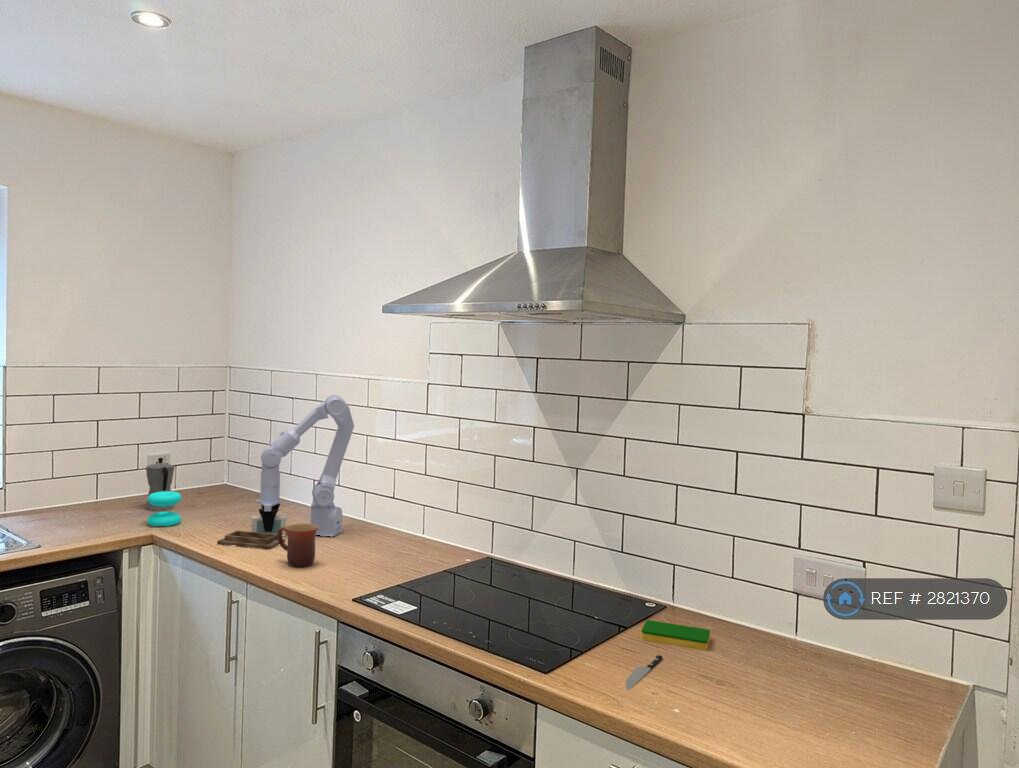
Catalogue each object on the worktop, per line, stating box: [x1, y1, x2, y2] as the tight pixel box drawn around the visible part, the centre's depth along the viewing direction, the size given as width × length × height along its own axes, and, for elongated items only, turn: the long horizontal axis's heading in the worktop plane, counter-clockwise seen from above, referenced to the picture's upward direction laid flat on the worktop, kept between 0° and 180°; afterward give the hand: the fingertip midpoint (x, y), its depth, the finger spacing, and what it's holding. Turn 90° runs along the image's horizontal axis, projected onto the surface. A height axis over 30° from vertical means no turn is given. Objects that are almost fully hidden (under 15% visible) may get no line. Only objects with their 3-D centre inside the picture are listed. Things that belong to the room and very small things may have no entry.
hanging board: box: [216, 529, 286, 550], centre depth 223 cm, size 17×9×2 cm, turn 78°
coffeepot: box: [145, 457, 176, 512], centre depth 262 cm, size 15×9×18 cm, turn 37°
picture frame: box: [251, 514, 287, 536], centre depth 233 cm, size 10×3×6 cm, turn 103°
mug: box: [277, 523, 318, 568], centre depth 205 cm, size 12×9×10 cm
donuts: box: [147, 490, 182, 527], centre depth 242 cm, size 10×10×10 cm
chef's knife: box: [625, 654, 663, 691], centre depth 144 cm, size 19×1×3 cm
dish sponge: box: [640, 619, 711, 651], centre depth 162 cm, size 7×14×2 cm, turn 70°
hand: (269, 529), depth 233 cm, fingers open, 5 cm apart
